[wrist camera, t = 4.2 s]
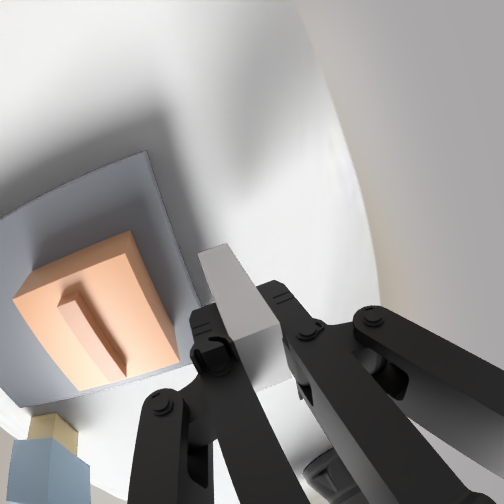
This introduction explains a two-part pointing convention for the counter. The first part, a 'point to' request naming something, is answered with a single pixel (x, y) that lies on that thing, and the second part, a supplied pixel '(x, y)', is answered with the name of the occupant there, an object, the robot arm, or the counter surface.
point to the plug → (48, 465)
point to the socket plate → (72, 240)
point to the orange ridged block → (99, 314)
